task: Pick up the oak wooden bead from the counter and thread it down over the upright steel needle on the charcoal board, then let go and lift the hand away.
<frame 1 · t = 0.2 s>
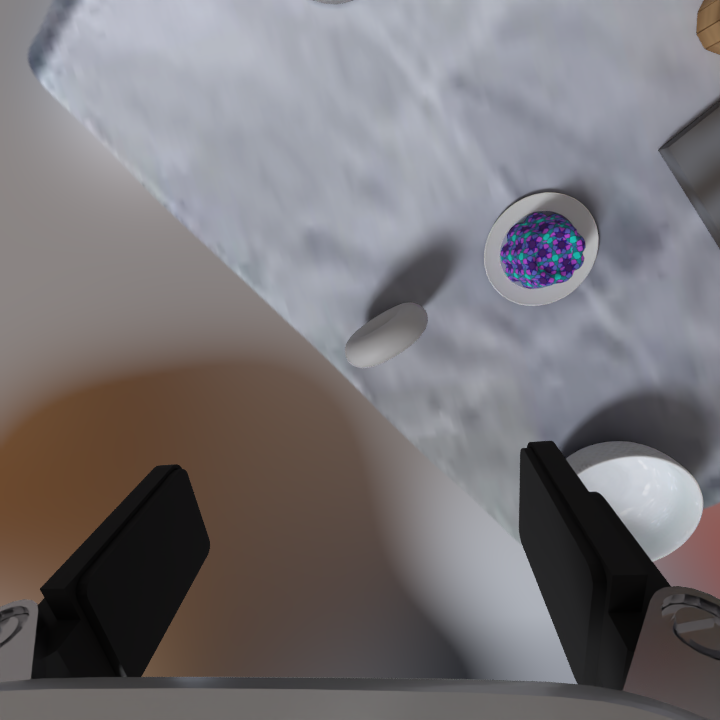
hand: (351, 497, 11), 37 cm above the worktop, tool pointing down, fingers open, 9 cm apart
donut: (386, 322, 47), on the worktop
cereal bowl: (595, 477, 52), on the worktop
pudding: (537, 251, 43), on the worktop
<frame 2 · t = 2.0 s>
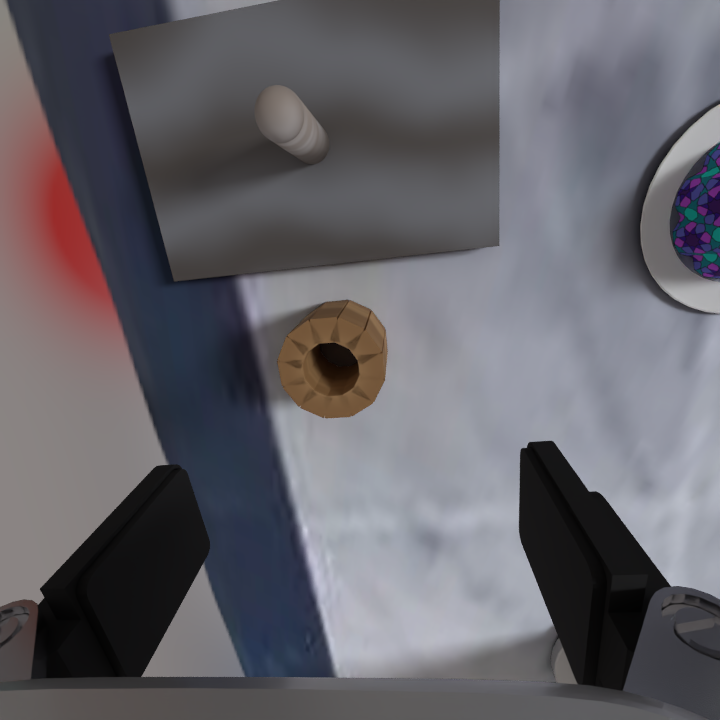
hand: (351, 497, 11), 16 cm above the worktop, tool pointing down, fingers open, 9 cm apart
bead: (342, 344, 27), on the worktop
needle stand: (316, 149, 23), on the worktop
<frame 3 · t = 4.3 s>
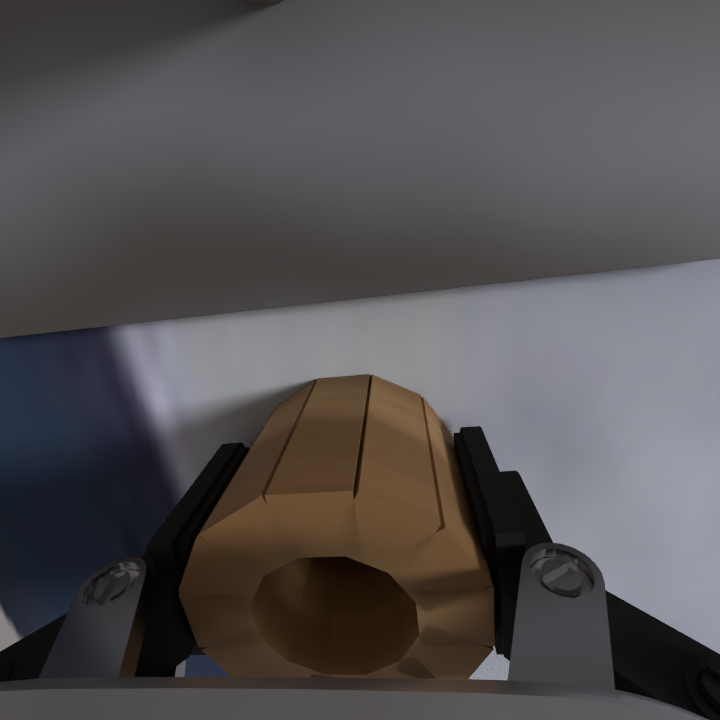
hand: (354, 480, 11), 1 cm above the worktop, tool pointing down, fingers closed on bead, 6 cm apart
bead: (356, 464, 12), on the worktop, touching gripper
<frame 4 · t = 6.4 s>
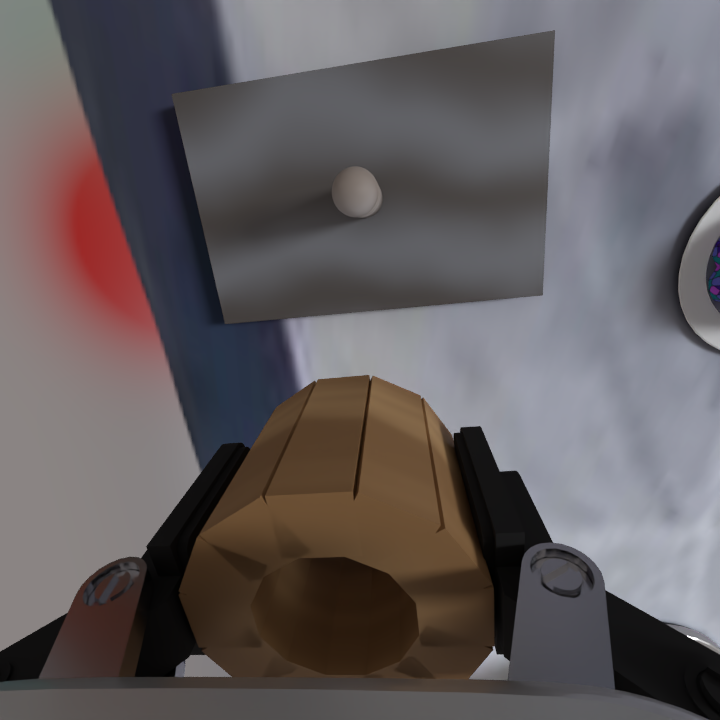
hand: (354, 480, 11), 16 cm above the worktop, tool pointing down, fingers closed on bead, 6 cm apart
bead: (356, 465, 12), point 15 cm above the worktop, touching gripper
needle stand: (367, 200, 24), on the worktop
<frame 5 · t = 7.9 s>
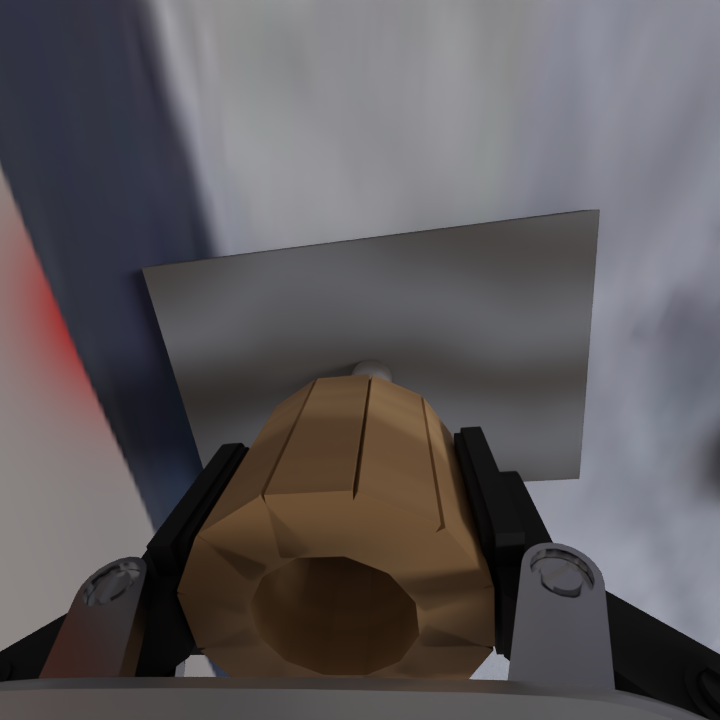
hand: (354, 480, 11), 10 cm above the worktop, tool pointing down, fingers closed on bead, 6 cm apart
bead: (356, 464, 12), point 9 cm above the worktop, touching gripper
needle stand: (373, 367, 20), on the worktop
when the fingers open (6 cm above the worktop, at t = 9.0 s): bead drops 4 cm, resting on needle stand.
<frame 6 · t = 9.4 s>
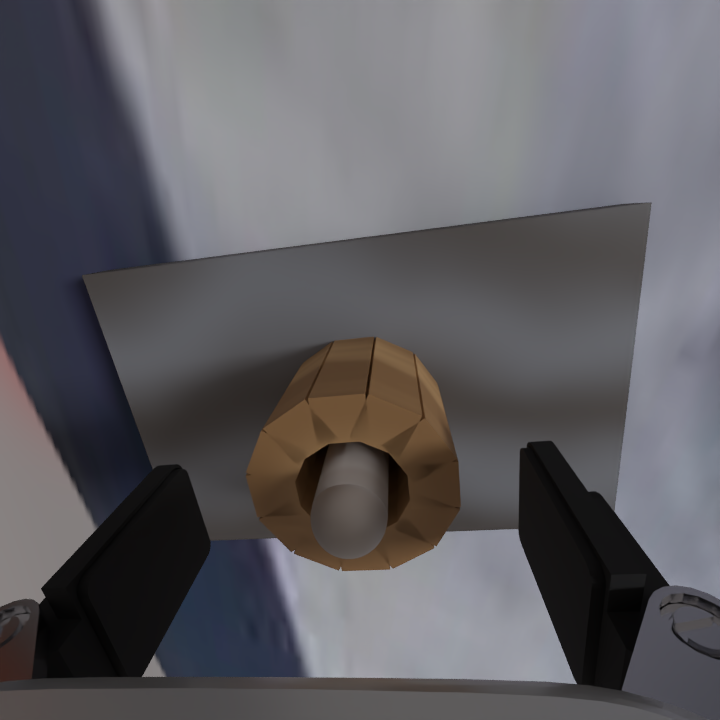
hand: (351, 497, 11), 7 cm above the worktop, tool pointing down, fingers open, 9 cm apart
bead: (364, 409, 16), point 1 cm above the worktop, touching needle stand
needle stand: (366, 392, 17), on the worktop
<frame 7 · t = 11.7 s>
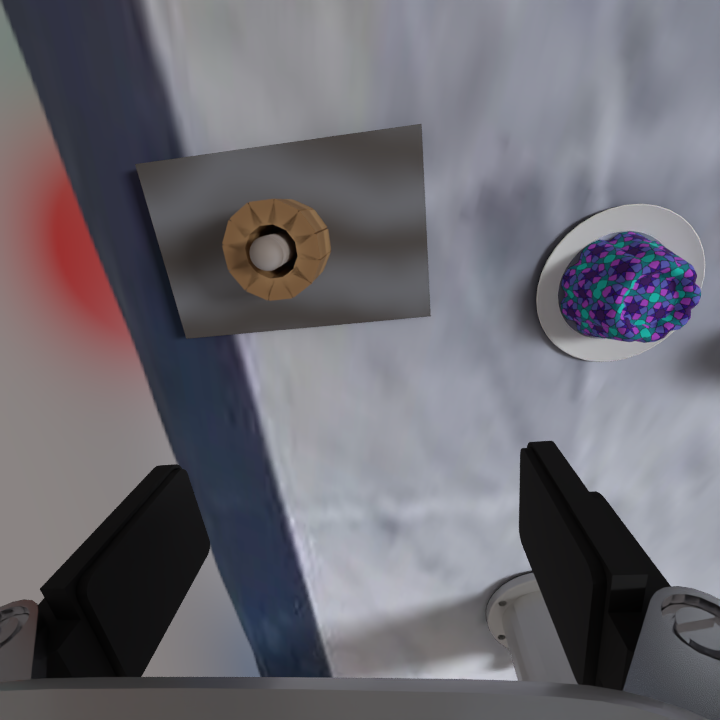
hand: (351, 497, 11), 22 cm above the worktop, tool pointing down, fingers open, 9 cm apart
bead: (289, 244, 29), point 1 cm above the worktop, touching needle stand
needle stand: (294, 242, 30), on the worktop
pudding: (611, 286, 30), on the worktop
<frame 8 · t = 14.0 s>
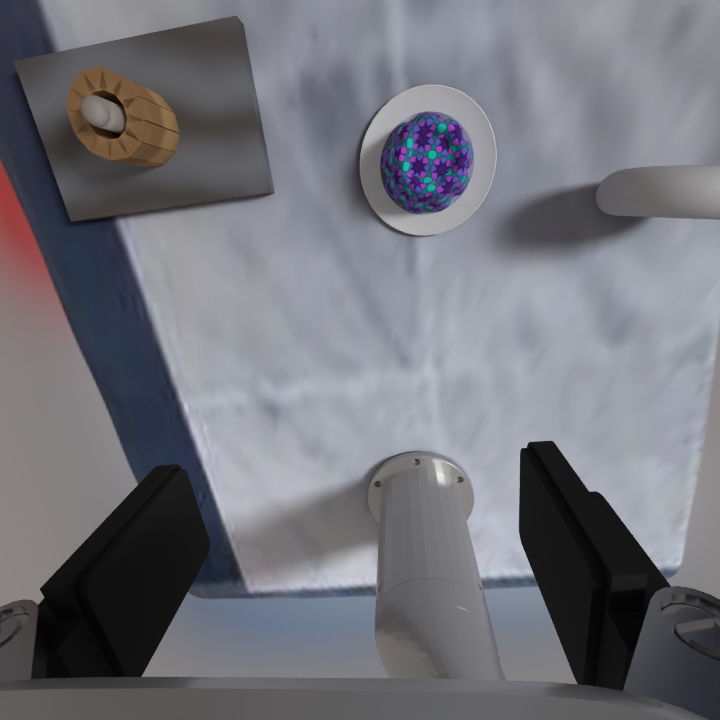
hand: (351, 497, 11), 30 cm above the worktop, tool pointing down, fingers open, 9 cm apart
bead: (145, 129, 34), point 1 cm above the worktop, touching needle stand
needle stand: (155, 132, 35), on the worktop
donut: (631, 197, 35), on the worktop
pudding: (426, 166, 35), on the worktop
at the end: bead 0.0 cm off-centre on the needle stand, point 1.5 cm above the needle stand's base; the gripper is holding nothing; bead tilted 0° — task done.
